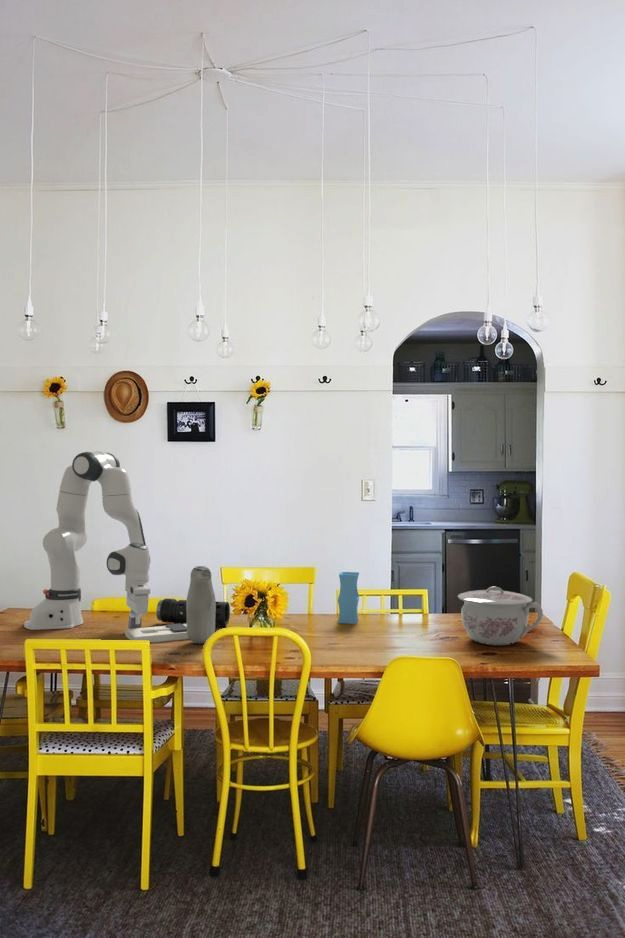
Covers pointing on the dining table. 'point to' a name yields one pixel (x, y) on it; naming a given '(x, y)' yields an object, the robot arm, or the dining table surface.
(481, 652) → the dining table surface
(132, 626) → the charger plug
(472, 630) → the chamber pot
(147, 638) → the outlet board
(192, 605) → the grey bottle
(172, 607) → the black camera lens
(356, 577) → the vase
